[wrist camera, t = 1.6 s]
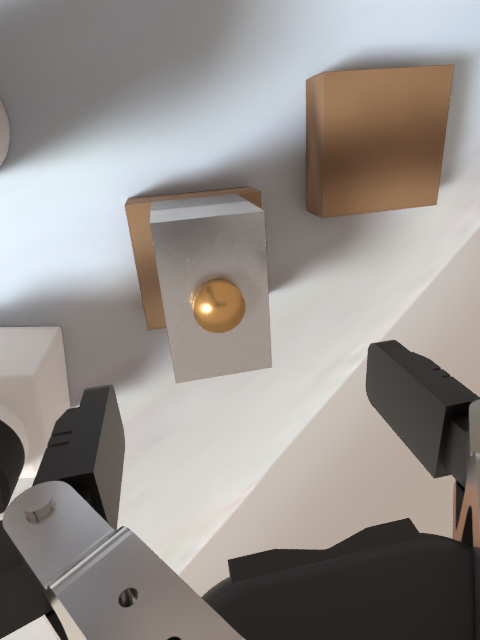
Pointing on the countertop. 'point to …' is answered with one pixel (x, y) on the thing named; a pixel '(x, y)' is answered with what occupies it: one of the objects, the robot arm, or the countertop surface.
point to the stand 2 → (375, 138)
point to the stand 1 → (144, 247)
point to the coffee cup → (4, 134)
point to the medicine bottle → (28, 400)
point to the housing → (213, 284)
